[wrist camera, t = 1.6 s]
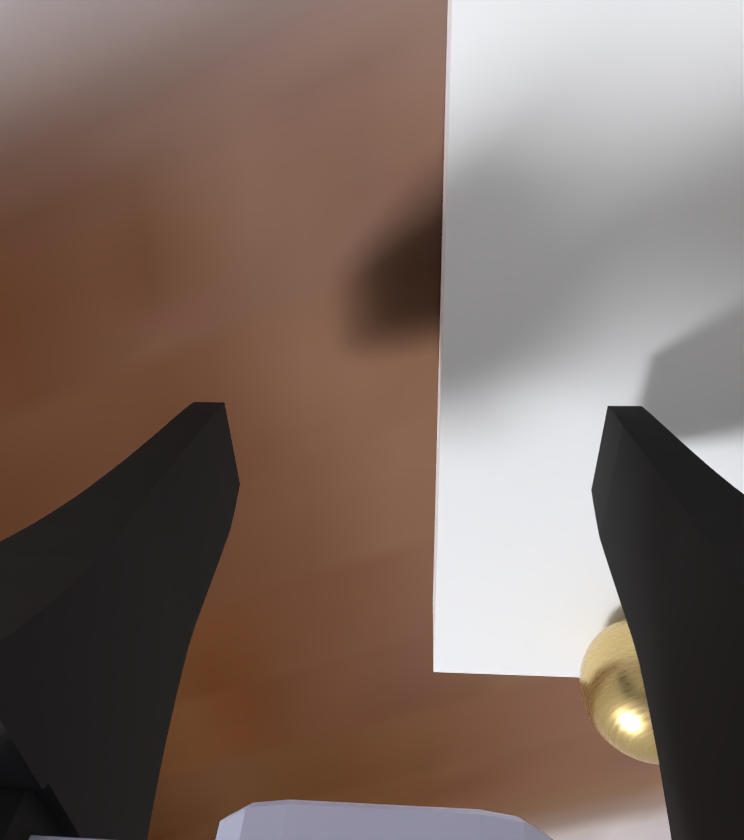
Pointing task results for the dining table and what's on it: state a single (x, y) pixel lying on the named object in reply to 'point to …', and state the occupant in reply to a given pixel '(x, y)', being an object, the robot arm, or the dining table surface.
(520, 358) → the plate
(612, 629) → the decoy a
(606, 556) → the robot arm
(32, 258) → the dining table surface
